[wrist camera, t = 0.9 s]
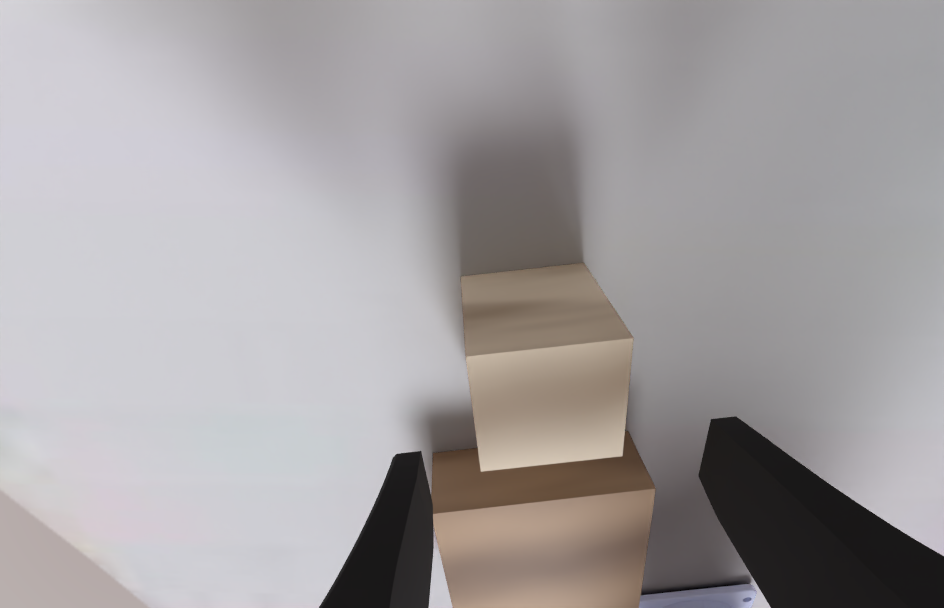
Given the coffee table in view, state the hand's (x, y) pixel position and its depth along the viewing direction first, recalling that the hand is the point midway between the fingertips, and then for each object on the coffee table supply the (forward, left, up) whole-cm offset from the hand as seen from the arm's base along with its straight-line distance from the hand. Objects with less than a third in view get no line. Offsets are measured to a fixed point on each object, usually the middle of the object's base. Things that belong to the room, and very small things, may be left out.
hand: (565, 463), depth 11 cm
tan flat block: (-11, 0, -7) cm, 13 cm away
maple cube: (0, 0, -7) cm, 7 cm away
